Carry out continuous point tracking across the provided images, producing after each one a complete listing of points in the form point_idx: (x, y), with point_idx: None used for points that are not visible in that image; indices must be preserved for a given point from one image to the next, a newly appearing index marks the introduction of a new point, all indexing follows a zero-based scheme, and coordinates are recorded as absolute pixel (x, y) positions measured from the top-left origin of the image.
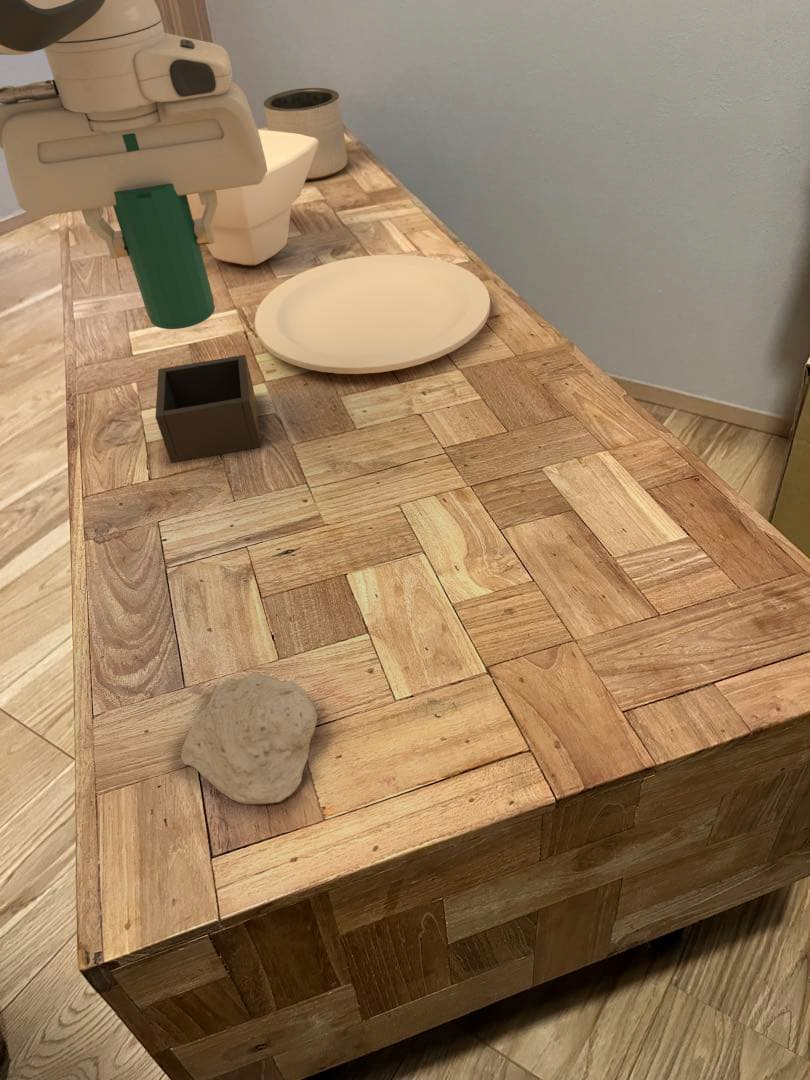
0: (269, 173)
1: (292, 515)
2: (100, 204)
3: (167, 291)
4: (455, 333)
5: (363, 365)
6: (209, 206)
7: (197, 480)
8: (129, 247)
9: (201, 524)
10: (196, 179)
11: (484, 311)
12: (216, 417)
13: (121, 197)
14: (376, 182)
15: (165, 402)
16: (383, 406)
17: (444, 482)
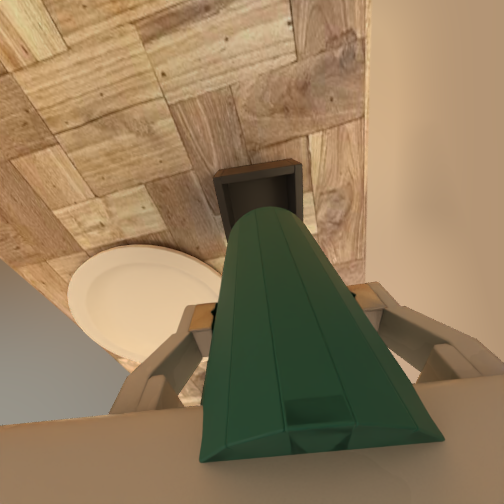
0: None
1: (170, 48)
2: (475, 388)
3: (275, 226)
4: (83, 280)
5: (144, 249)
6: (150, 370)
7: (267, 127)
8: (346, 287)
9: (256, 47)
10: (104, 473)
11: (70, 302)
12: (246, 170)
13: (412, 409)
14: None
15: (294, 193)
16: (129, 212)
17: (36, 84)
